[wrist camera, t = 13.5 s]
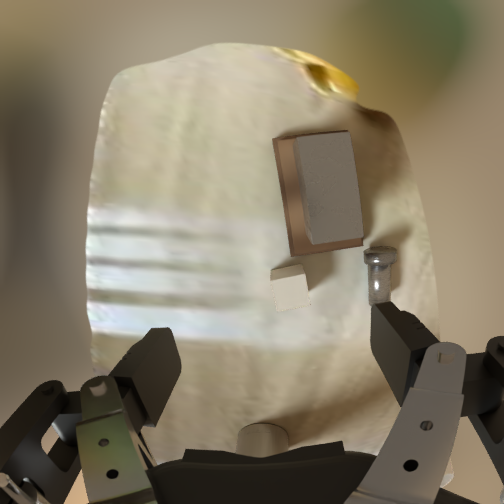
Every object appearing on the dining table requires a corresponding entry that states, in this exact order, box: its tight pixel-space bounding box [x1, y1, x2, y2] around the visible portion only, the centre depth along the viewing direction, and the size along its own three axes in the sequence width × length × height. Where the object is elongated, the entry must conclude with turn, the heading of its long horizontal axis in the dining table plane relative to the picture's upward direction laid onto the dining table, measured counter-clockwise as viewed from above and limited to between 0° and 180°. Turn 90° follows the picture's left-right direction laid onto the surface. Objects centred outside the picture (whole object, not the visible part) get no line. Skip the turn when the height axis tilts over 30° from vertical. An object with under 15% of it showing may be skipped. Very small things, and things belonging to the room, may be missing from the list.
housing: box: [292, 132, 364, 245], centre depth 28 cm, size 5×10×6 cm, turn 10°
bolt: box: [364, 246, 397, 306], centre depth 33 cm, size 7×4×4 cm, turn 10°
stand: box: [272, 130, 363, 257], centre depth 32 cm, size 14×9×2 cm, turn 10°
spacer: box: [270, 264, 311, 312], centre depth 34 cm, size 4×4×4 cm
